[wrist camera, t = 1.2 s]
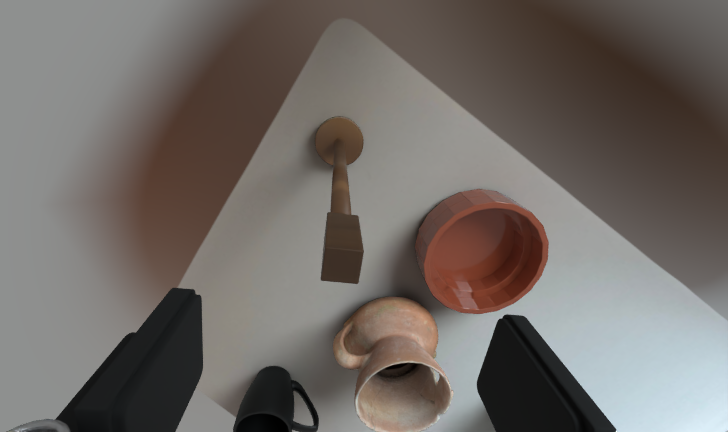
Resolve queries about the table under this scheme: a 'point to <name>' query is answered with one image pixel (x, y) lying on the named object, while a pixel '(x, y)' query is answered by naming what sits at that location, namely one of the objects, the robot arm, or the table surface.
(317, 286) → the table surface
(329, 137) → the wooden dowel plunger
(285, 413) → the mug
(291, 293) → the table surface
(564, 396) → the robot arm
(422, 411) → the ceramic jug
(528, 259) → the mixing bowl
